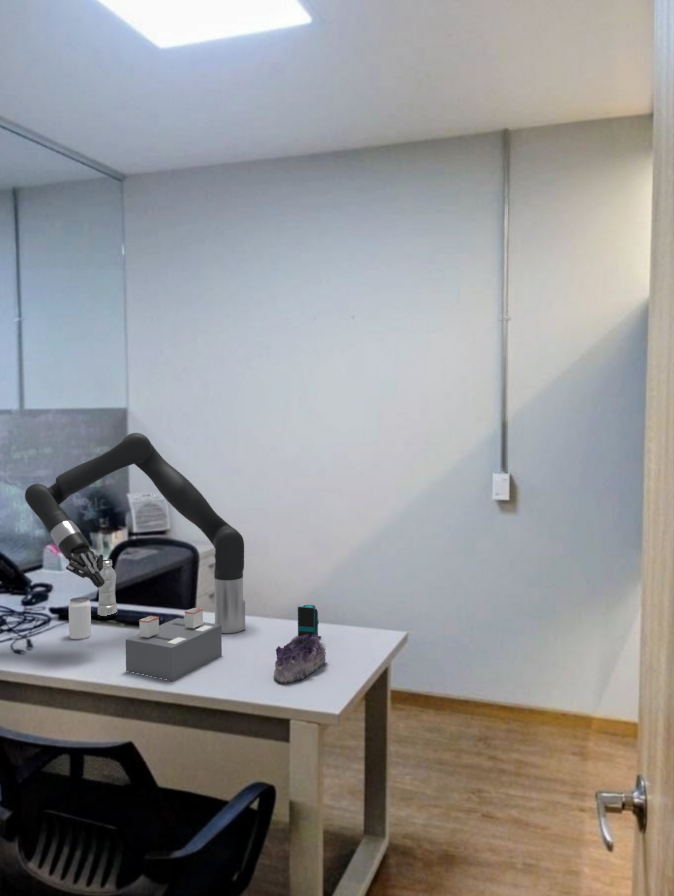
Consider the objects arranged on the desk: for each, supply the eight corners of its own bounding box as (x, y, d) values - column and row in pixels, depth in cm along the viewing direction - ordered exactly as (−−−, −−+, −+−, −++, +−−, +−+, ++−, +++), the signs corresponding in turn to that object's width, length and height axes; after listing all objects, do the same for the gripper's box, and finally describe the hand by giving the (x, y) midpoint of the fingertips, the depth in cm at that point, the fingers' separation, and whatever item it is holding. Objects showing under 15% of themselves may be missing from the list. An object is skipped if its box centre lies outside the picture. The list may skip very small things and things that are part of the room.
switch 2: (184, 627, 200) (184, 611, 200) (194, 622, 204) (194, 607, 204) (193, 628, 199) (193, 612, 199) (203, 624, 203) (203, 608, 203)
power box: (126, 671, 191) (125, 638, 191) (178, 647, 211) (177, 617, 211) (172, 681, 184) (171, 647, 184) (221, 655, 204) (221, 624, 204)
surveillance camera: (324, 599, 220) (314, 608, 210) (324, 637, 220) (314, 647, 211) (307, 598, 221) (297, 606, 212) (307, 635, 222) (297, 645, 212)
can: (83, 640, 218) (83, 602, 217) (65, 639, 219) (64, 601, 218) (95, 634, 224) (94, 597, 223) (76, 633, 225) (76, 596, 225)
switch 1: (139, 636, 192) (139, 619, 192) (150, 631, 196) (150, 615, 196) (148, 637, 191) (147, 621, 191) (159, 633, 195) (158, 617, 195)
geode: (305, 688, 180) (300, 650, 179) (265, 688, 184) (260, 651, 184) (333, 659, 199) (328, 625, 198) (296, 660, 203) (291, 626, 203)
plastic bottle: (121, 615, 244) (120, 559, 243) (109, 621, 238) (108, 563, 237) (105, 614, 246) (104, 557, 245) (93, 619, 240) (92, 561, 239)
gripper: (57, 534, 198) (90, 582, 194) (93, 528, 210) (124, 572, 205) (44, 551, 201) (76, 599, 196) (80, 544, 213) (111, 588, 208)
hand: (101, 585), depth 201 cm, fingers closed
